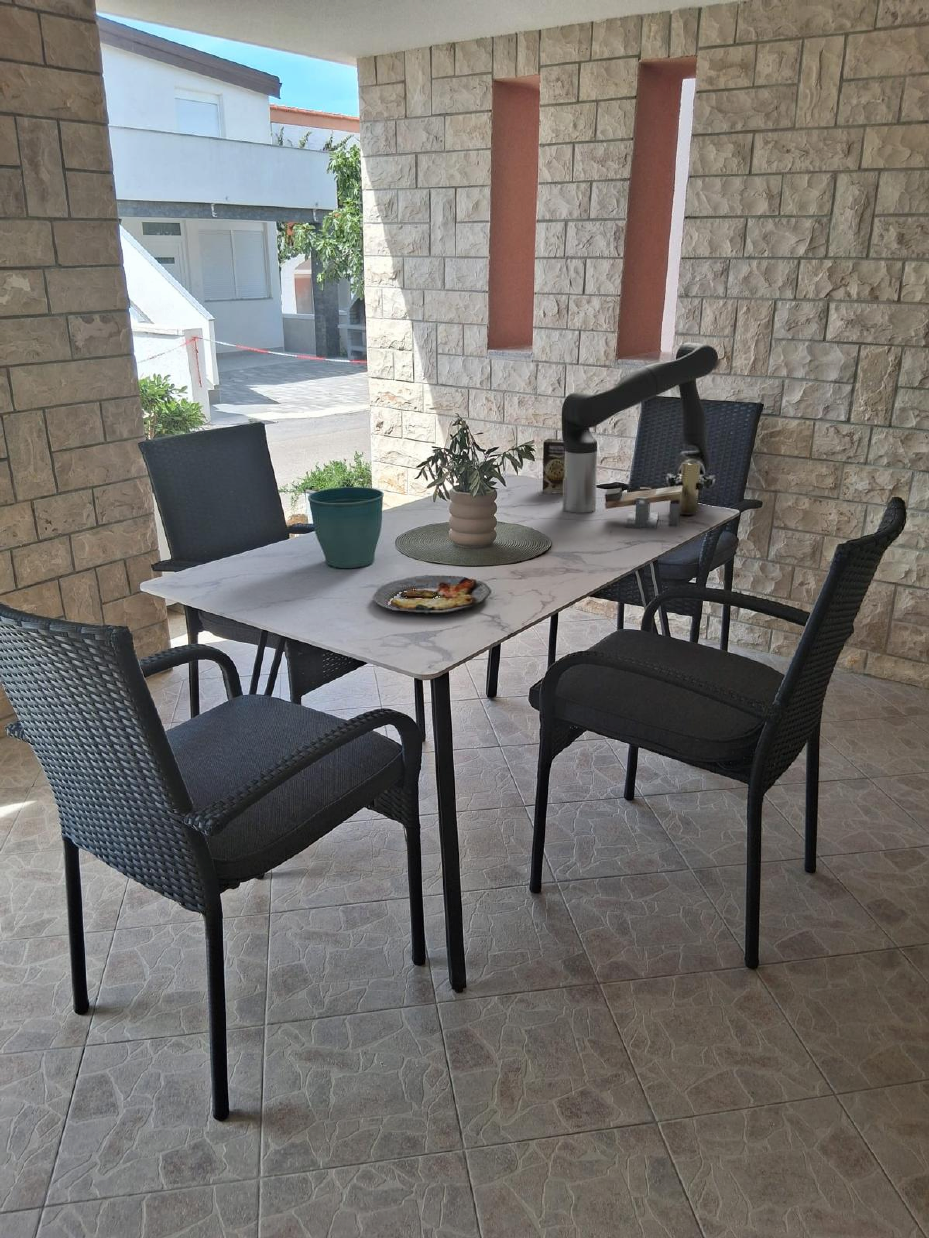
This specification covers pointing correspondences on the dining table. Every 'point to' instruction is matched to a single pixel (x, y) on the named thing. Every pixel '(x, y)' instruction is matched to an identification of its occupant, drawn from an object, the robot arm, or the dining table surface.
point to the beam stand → (650, 514)
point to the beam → (654, 495)
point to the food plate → (433, 594)
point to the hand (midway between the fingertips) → (689, 486)
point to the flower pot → (347, 524)
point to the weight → (689, 488)
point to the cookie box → (553, 465)
